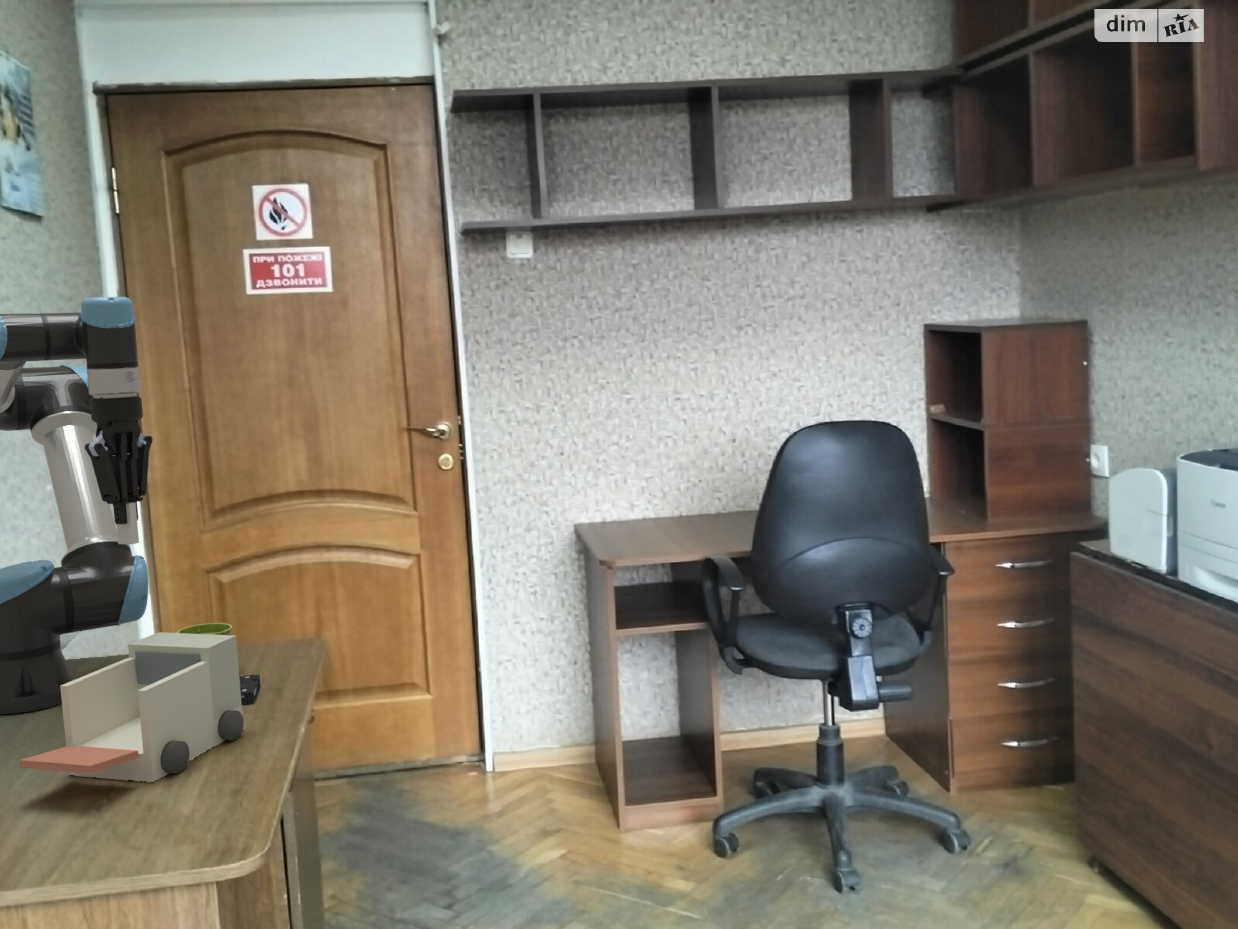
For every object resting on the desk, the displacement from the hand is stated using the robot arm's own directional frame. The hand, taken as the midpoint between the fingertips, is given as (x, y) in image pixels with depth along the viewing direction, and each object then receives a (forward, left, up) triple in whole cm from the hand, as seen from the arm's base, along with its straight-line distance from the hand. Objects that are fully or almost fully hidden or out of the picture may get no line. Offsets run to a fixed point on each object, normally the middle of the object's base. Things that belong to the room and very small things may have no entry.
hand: (128, 543), depth 183 cm
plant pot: (-3, +21, -29) cm, 36 cm away
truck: (+14, -14, -28) cm, 35 cm away
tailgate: (+14, -25, -24) cm, 38 cm away
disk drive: (+6, +9, -29) cm, 31 cm away
